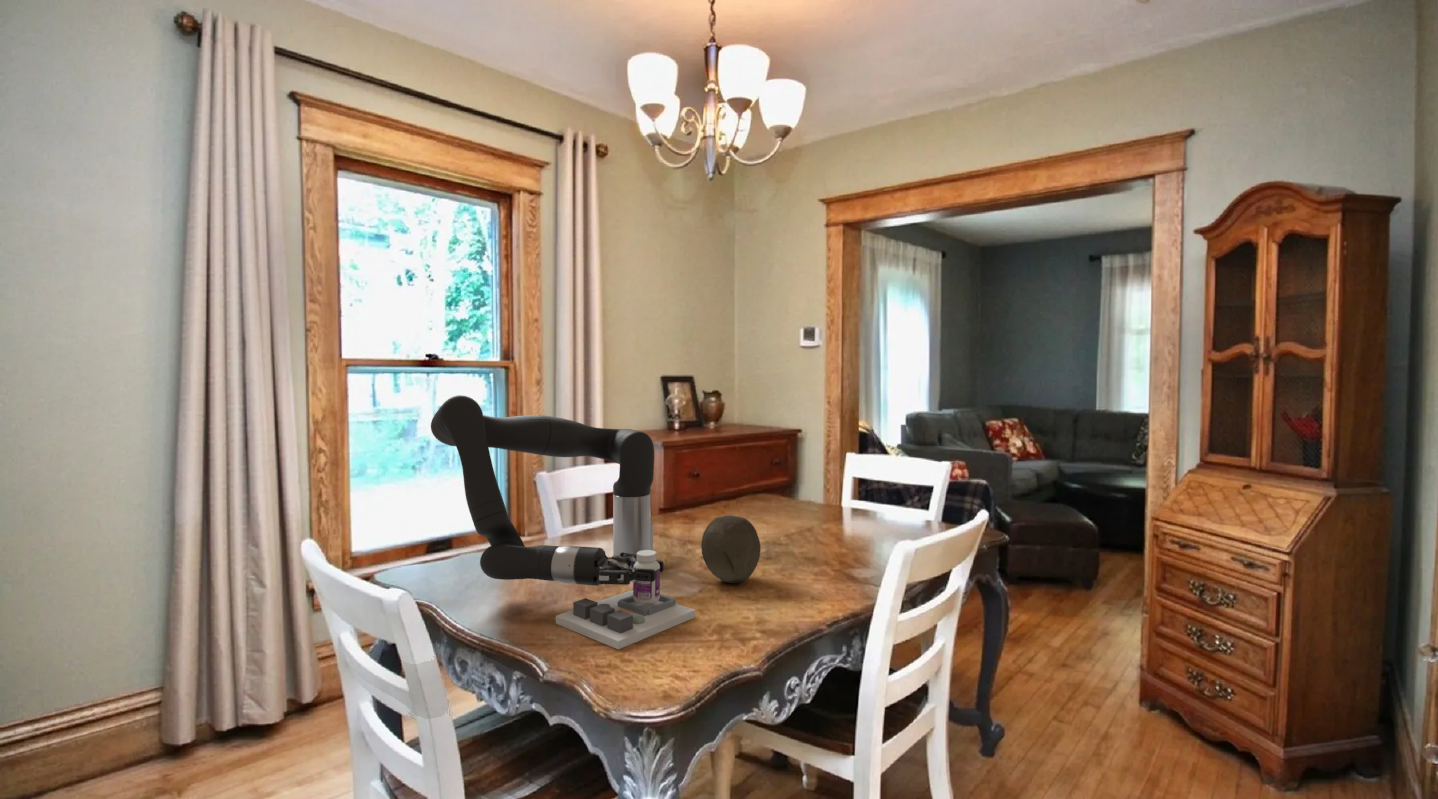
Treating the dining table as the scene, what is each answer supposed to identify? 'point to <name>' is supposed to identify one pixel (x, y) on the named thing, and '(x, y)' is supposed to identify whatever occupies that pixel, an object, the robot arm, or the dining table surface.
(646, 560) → the pill bottle
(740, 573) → the dark grey rounded stone
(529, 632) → the dining table surface
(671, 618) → the board
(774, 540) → the dining table surface
